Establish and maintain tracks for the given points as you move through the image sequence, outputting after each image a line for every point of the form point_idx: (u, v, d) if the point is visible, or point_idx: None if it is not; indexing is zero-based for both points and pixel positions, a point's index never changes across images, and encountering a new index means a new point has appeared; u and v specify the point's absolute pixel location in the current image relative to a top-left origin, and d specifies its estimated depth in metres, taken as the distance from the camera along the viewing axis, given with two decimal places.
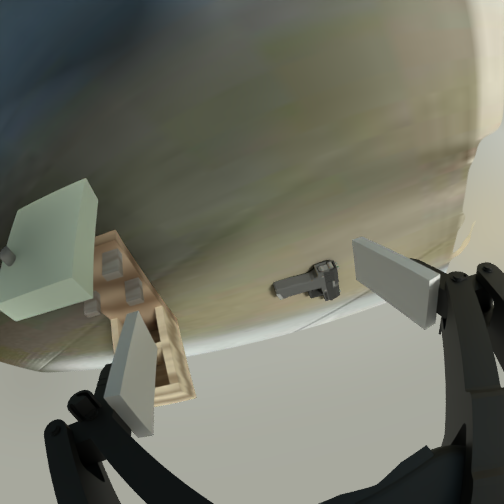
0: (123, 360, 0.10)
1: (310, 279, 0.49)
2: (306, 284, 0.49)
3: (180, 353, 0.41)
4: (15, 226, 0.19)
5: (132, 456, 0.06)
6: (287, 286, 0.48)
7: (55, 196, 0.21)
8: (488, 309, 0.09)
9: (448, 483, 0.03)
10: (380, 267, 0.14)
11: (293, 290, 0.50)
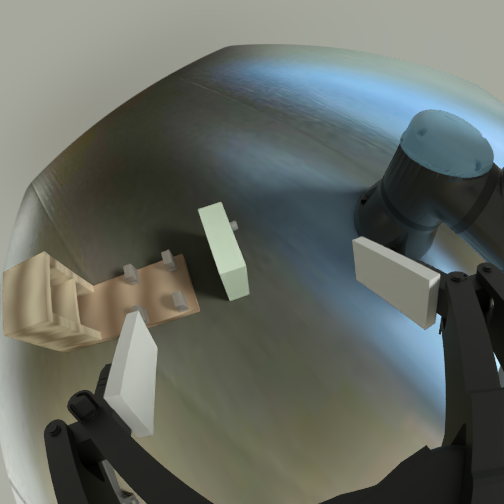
0: (123, 360, 0.10)
1: (116, 492, 0.26)
2: None
3: (51, 340, 0.30)
4: None
5: (132, 456, 0.06)
6: (106, 468, 0.27)
7: None
8: (488, 308, 0.09)
9: (448, 483, 0.03)
10: (380, 268, 0.14)
11: None
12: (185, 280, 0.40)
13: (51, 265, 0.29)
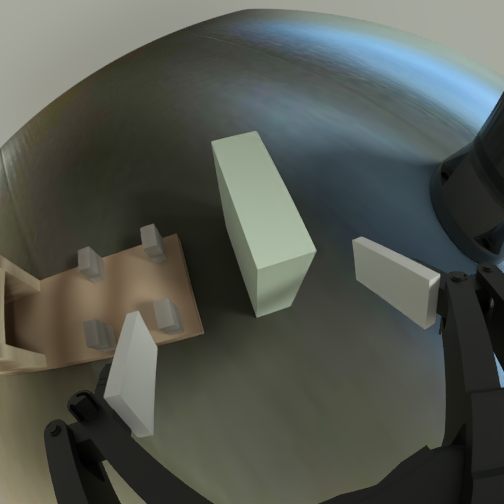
0: (123, 360, 0.10)
1: None
2: None
3: None
4: None
5: (132, 456, 0.06)
6: None
7: None
8: (488, 308, 0.09)
9: (448, 483, 0.03)
10: (380, 267, 0.14)
11: None
12: (180, 279, 0.23)
13: None
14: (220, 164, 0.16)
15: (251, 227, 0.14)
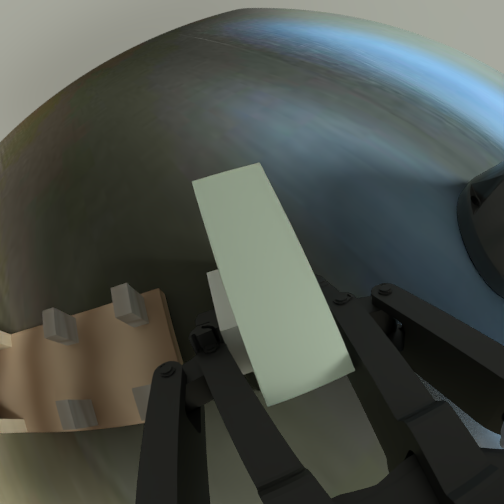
0: (226, 302, 0.13)
1: None
2: None
3: None
4: None
5: (238, 394, 0.08)
6: None
7: None
8: (394, 330, 0.11)
9: None
10: None
11: None
12: (165, 348, 0.17)
13: None
14: (205, 222, 0.10)
15: (256, 338, 0.09)
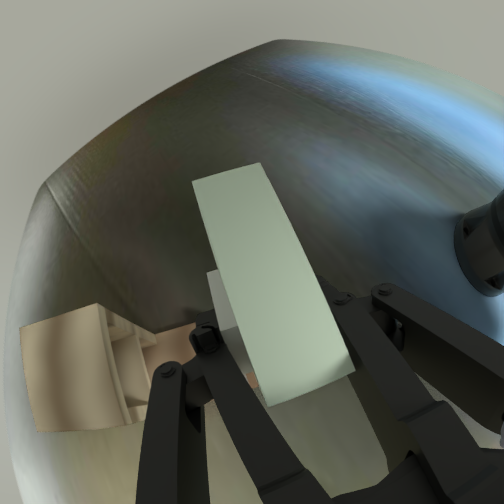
0: (226, 302, 0.13)
1: None
2: None
3: None
4: None
5: (238, 394, 0.08)
6: None
7: None
8: (394, 330, 0.11)
9: None
10: None
11: None
12: None
13: (108, 324, 0.19)
14: (205, 222, 0.10)
15: (257, 338, 0.09)
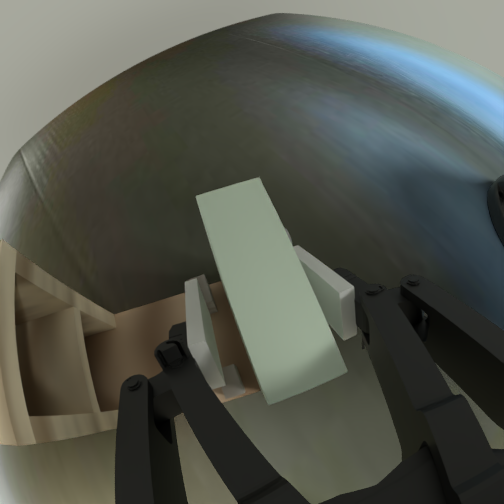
0: (198, 315, 0.12)
1: None
2: None
3: None
4: None
5: (208, 408, 0.07)
6: None
7: None
8: (419, 321, 0.11)
9: (429, 502, 0.03)
10: (307, 277, 0.15)
11: None
12: None
13: (20, 277, 0.10)
14: (209, 236, 0.11)
15: (258, 343, 0.09)
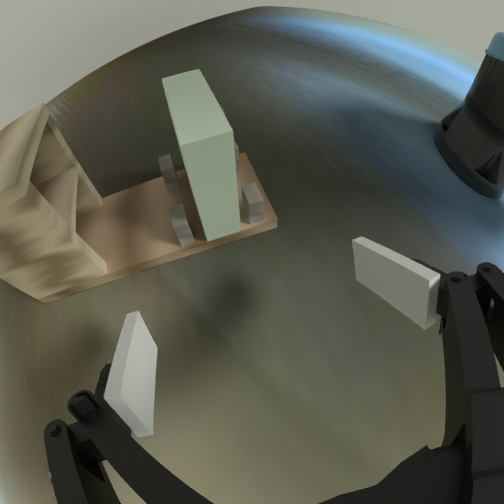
0: (123, 360, 0.10)
1: None
2: None
3: (20, 264, 0.16)
4: None
5: (132, 456, 0.06)
6: None
7: None
8: (488, 309, 0.09)
9: (448, 483, 0.03)
10: (380, 268, 0.14)
11: None
12: (253, 182, 0.27)
13: (48, 127, 0.16)
14: (165, 90, 0.17)
15: (180, 121, 0.15)
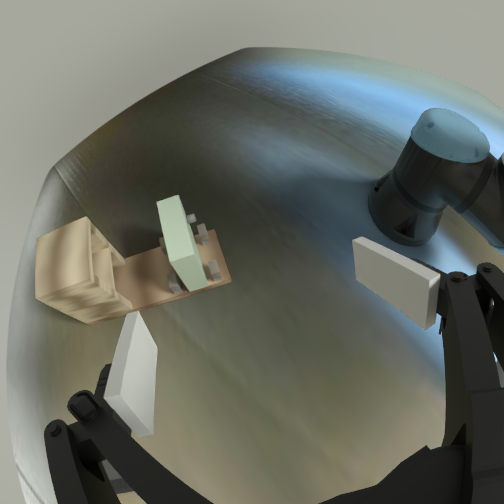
0: (123, 360, 0.10)
1: None
2: None
3: (82, 308, 0.33)
4: (191, 230, 0.42)
5: (132, 456, 0.06)
6: None
7: (201, 263, 0.42)
8: (488, 309, 0.09)
9: (448, 483, 0.03)
10: (380, 267, 0.14)
11: None
12: (218, 252, 0.44)
13: (91, 230, 0.33)
14: (159, 214, 0.34)
15: (169, 244, 0.32)
